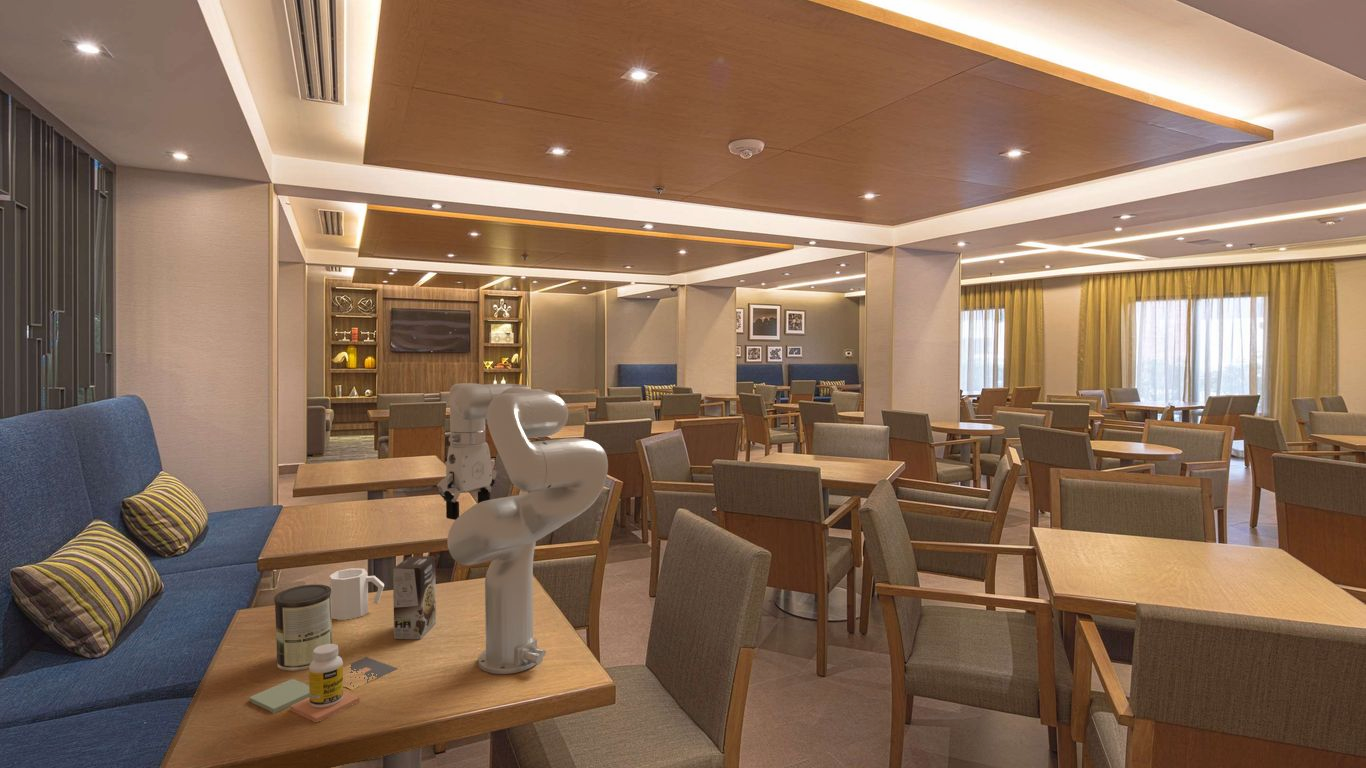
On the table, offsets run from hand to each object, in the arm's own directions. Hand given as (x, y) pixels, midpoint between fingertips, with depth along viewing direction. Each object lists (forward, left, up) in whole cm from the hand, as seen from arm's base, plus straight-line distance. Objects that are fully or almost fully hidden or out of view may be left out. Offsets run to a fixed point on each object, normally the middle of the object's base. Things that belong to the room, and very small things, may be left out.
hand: (468, 513), depth 154 cm
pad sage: (+7, +38, -27) cm, 47 cm away
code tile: (+4, +25, -27) cm, 37 cm away
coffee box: (+11, +6, -27) cm, 30 cm away
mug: (+32, +6, -27) cm, 43 cm away
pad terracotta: (-2, +36, -27) cm, 45 cm away
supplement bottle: (-2, +36, -27) cm, 45 cm away
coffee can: (+19, +27, -27) cm, 43 cm away
